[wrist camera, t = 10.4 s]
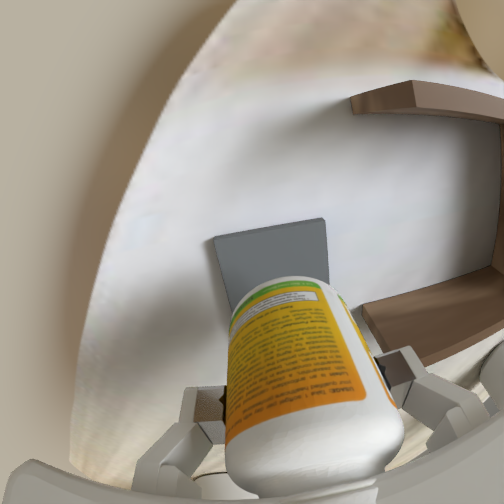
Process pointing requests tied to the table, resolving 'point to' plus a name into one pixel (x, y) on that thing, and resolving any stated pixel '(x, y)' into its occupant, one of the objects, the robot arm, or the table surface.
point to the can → (494, 375)
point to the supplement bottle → (305, 398)
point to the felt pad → (272, 255)
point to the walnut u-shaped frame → (455, 290)
